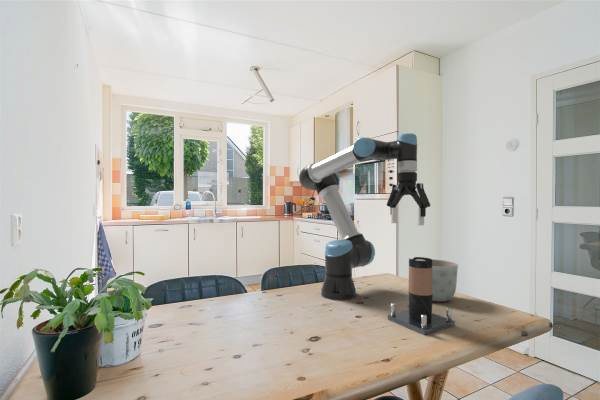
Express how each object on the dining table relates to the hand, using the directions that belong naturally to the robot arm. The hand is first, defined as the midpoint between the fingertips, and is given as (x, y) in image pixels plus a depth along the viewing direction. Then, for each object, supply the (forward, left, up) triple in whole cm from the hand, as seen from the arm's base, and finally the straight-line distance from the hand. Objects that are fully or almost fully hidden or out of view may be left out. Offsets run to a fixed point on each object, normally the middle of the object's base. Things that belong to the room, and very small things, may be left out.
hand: (407, 224), depth 130 cm
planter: (+3, +14, -32) cm, 35 cm away
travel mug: (+17, -14, -30) cm, 38 cm away
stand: (+18, -14, -32) cm, 39 cm away
